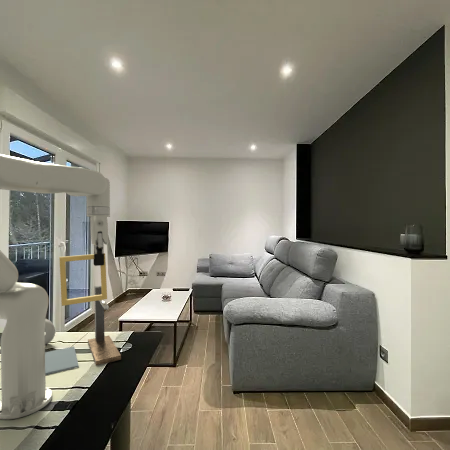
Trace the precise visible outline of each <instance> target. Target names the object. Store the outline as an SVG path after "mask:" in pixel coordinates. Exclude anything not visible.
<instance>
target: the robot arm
mask: <svg viewBox="0 0 450 450" xmlns="http://www.w3.org/2000/svg"><path fill="white" fill-rule="evenodd" d="M110 182H111V181H110V180H109V178H107V177H106V176H105V175H103V174H102V173H101V172H100V171H97V170H93V169H90V168H84V167H80V166H79V167H78V166H69V165H61V164H56V163H55V164H54V163H45V162H40V161H34V160H30V159H27V158H20V157H16V156H11V155H6V154H1V153H0V190H6V191H13V192H25V193H33V194H34V193H36V194H63V193H64V194H67V195H68V196H71V197H86V217H88V218H89V217H90V218H89V219H90V238H91V239H90V240H91V244H92V245H93V254H94V259H93V265H94V266H95V267H98V266H99V267H100V266H101V265H104V247H105V245H106V246H107V245H108V244H109V243H110V242H109V223H108V218H109V217H111V204H110V203H111V190H110V189H111V184H110ZM18 280H19V271H18V269H17V266H16V265H15V264H14V262H12V261H11V260H10V258H8V256H7V255H5V253H4V252H3V251H1V250H0V319H1V320H6V323H5V326H4V329H3V330H2V333H1V336H0V337H1V338H0V371H1V372H0V373H1V374H0V376H1V377H0V378H1V379H0V380H1V387H0V389H1V399H0V420H13V419H14V420H15V419H19V418H24V417H26V416H29V415H31V414H34V413H36V412H39V411H40V410H41V409H43V408H44V407H46V406H47V405H48V404H50V402H51V400H53V390H52V389H51V388H49V387H47V385H46V384H47V383H46V375H45V352H46V344H45V319H47V318H46V317H47V313H48V312H47V311H48V308H49V295H48V292H47V291H46V289H45V288H44V287H42V286H40V285H38V284H35V283H30V282H18Z"/></svg>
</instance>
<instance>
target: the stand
mask: <svg viewBox="0 0 450 450" xmlns="http://www.w3.org/2000/svg"><path fill="white" fill-rule="evenodd" d="M93 288H94V290H93V291H94V295H101V294H102V291H101V285H97V286H94V287H93ZM109 308H110V306H109V305H108V303H107V302H106V301H105V300H98V301H94V337H93V338H90V339H87V345H88V348H89V350H90V353H91V356H92V359H93V362H94V364H95V366H99V365H104V364H109V363H112V362H116V361H120V360H122V354H121V353H120V351H119V350H118V348H117V346H116V344H115V343H114V341H113V339H112V337H111V336H110V335H105V310H106V311H108V310H109Z"/></svg>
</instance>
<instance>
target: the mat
mask: <svg viewBox="0 0 450 450" xmlns="http://www.w3.org/2000/svg"><path fill="white" fill-rule="evenodd" d="M77 368H79V362H78V357H77V353H76V348H75V346H69V347H65V348H59V349H55V350H50V351H45V376H46V375H51V374H56V373H60V372H64V371H68V370H72V369H77Z"/></svg>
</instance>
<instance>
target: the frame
mask: <svg viewBox="0 0 450 450" xmlns="http://www.w3.org/2000/svg"><path fill="white" fill-rule="evenodd" d="M58 260H59V275H60V276H59V277H60V278H59V279H60V294H61V295H60V297H61V307H62V306H70V305H78V304H83V303H90V302H95V301H98V300H104V301H105V300H108V289H107V287H108V286H107V285H108V284H107V267H106V266H107V265H106V253H104V265H101V266H99V267H100V286H101V291H102V294H101V295H95V294H94V295H88V296H82V297H81V296H80V297H73V298H68V291H67V273H66V271H67V270H66V267H67V266H66V263H67V262H77V261H87V260H89V261H90V260H94V253H93V254H92V253H91V254H80V255H79V254H78V255H68V256H59V259H58Z"/></svg>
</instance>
